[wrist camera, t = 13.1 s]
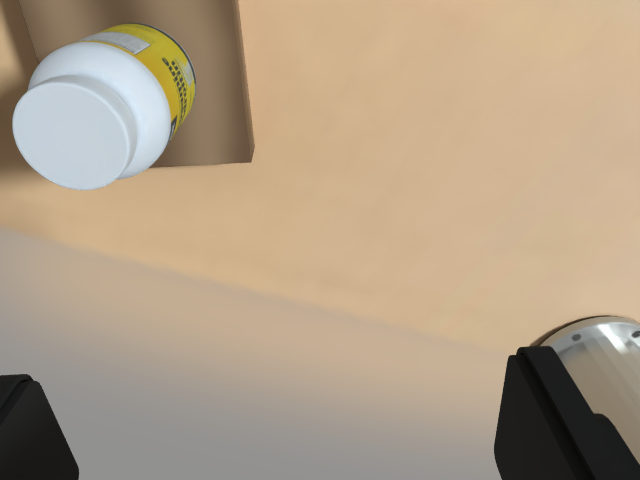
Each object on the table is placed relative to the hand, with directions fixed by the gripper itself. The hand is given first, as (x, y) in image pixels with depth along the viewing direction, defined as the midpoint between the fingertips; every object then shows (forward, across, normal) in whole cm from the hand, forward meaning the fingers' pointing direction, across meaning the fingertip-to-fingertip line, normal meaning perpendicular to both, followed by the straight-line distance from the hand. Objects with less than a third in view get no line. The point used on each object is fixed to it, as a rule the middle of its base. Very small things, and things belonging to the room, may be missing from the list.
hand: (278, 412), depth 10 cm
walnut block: (+28, +10, -3) cm, 29 cm away
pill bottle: (+25, +10, -2) cm, 27 cm away
